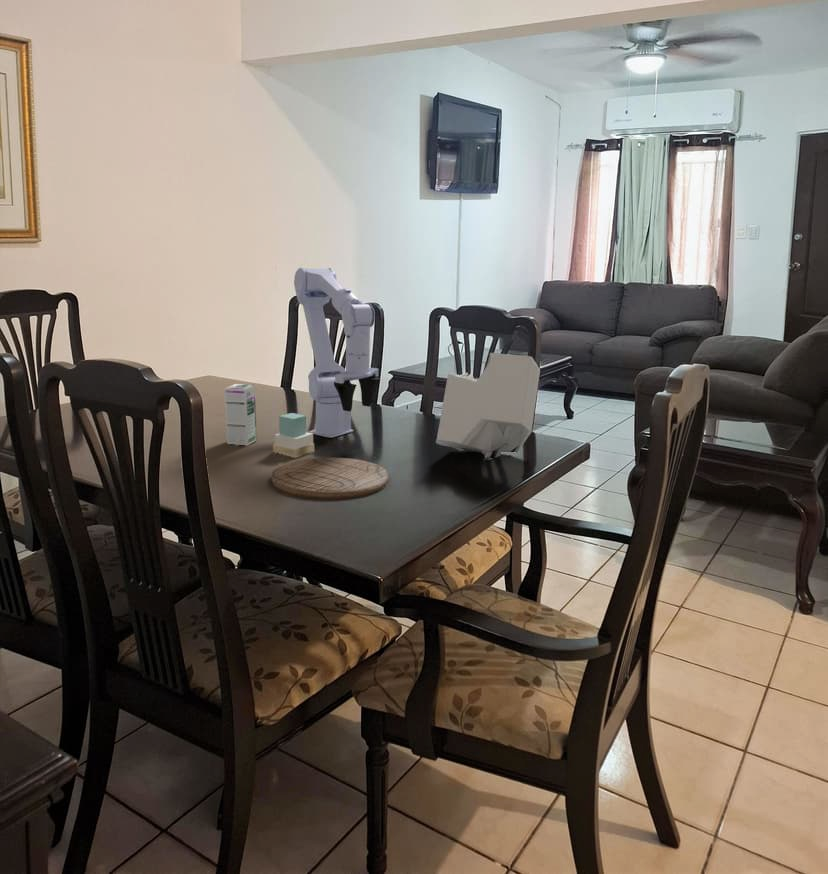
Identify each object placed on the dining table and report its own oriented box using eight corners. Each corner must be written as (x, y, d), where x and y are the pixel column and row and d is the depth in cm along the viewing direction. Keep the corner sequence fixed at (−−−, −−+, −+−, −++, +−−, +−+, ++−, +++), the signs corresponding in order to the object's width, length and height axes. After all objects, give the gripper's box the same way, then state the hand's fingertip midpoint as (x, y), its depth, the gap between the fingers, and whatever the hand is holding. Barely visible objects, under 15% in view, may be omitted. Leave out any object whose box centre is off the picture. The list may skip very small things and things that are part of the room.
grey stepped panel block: (430, 453, 183) (445, 348, 185) (446, 459, 198) (460, 362, 200) (516, 464, 177) (531, 356, 179) (526, 469, 192) (540, 370, 194)
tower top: (292, 439, 193) (292, 429, 193) (313, 443, 190) (313, 433, 189) (274, 444, 188) (274, 434, 187) (296, 449, 185) (296, 439, 184)
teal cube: (291, 430, 191) (291, 412, 190) (306, 433, 189) (306, 415, 188) (279, 434, 188) (279, 416, 186) (293, 437, 185) (293, 418, 184)
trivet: (319, 459, 186) (319, 451, 185) (409, 478, 173) (409, 470, 173) (246, 485, 165) (246, 476, 164) (343, 509, 152) (343, 499, 152)
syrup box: (247, 446, 193) (246, 388, 189) (225, 444, 194) (224, 386, 191) (257, 440, 198) (256, 384, 195) (235, 439, 200) (233, 382, 196)
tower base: (292, 448, 194) (292, 438, 194) (314, 453, 191) (314, 443, 190) (273, 454, 189) (273, 444, 188) (294, 459, 185) (294, 449, 184)
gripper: (351, 358, 182) (350, 415, 186) (388, 352, 194) (387, 406, 197) (328, 355, 186) (328, 411, 189) (366, 349, 198) (365, 402, 201)
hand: (356, 408), depth 194 cm, fingers open, 7 cm apart
